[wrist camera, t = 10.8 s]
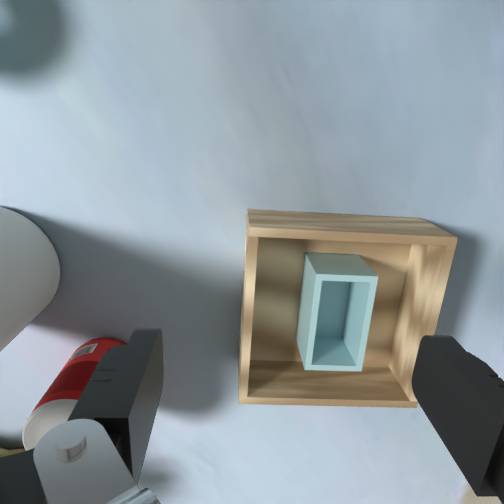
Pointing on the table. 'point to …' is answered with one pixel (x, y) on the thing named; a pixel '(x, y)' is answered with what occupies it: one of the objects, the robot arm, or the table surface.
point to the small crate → (334, 311)
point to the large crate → (383, 314)
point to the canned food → (65, 390)
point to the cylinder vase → (24, 273)
